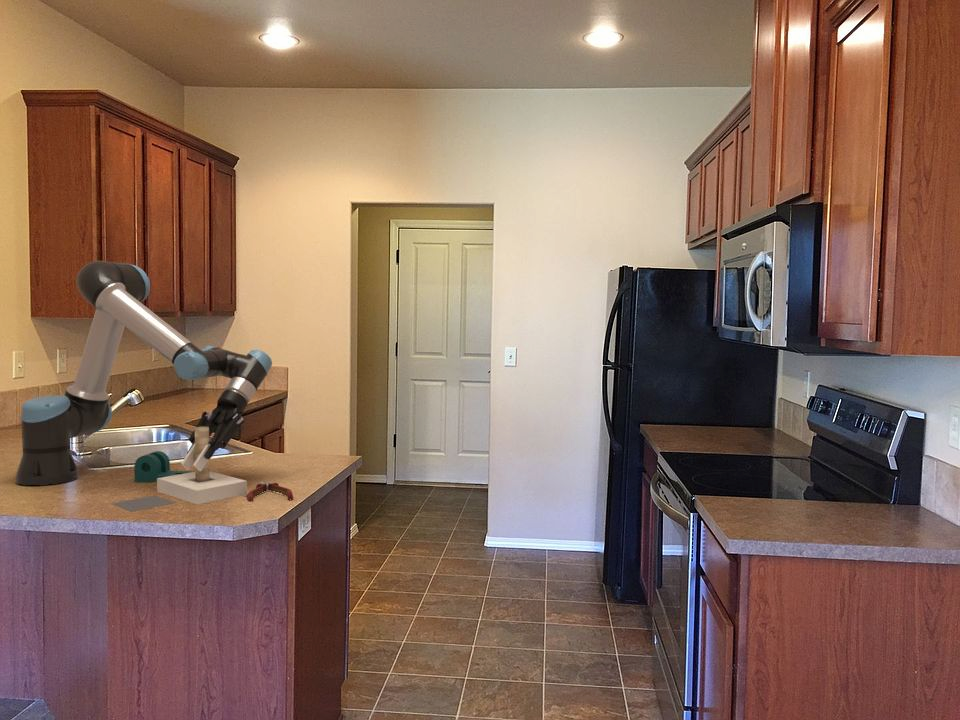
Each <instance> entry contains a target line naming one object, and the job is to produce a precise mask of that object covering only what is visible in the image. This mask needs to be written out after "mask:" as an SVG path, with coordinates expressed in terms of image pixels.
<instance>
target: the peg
mask: <svg viewBox="0 0 960 720" xmlns="http://www.w3.org/2000/svg"><path fill="white" fill-rule="evenodd" d="M194 430H195V461H196V460H197V458H198V457H199V455H200V454H201V452H202V451H203V449H204V447H205V446H206V445H209V446H210V444H209V443H208V442H210V437H209V427H196V426H195V427H194ZM195 461H194V462H195ZM194 468H195V481H197V482H204V481H209V480H210V471H211V470H210V469H211V468H210V459H209V460H208V461H207V463H206V464H205V466H204V468H203V469H202V471H198V470H197V469H196V467H195V466H194Z"/></svg>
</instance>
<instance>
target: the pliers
mask: <svg viewBox="0 0 960 720" xmlns="http://www.w3.org/2000/svg"><path fill="white" fill-rule="evenodd" d="M266 490H271V491H275V492H279V493H282V494H284V495H286V496H287V497H288V498H287V497H286V496H285V497H286V498H287V501H288V500H289V501H291V500H290V499H292V500H293V498H294V495H293V492H292V490H291V489H290V488H288V487H284V486H281V485H279V483H277V482H272V481H268V482H267V483H266V482H265V481H259V483H257V484H256V486H255V488H254V489H252V490H250V491H249V492H247V496H246V501H248V502H251V503H252V502H254V498H253V497H255V496H257V495H259V494H260V493H262V492H264V491H266ZM266 492H267V491H266ZM264 493H265V492H264ZM262 494H263V493H262ZM260 495H261V494H260ZM260 495H259V496H260ZM284 495H283V496H284ZM257 497H258V496H257ZM255 498H256V497H255Z"/></svg>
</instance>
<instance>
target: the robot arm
mask: <svg viewBox="0 0 960 720" xmlns="http://www.w3.org/2000/svg"><path fill="white" fill-rule="evenodd" d="M76 287H77V290H78V292H79V294H80V295H81V296H82V298H84V300H85V301H87V302H88V303H89V304H90V305H91V306H93V307H94V308H95V312H94V316H93V319H92V322H91V326H90V329H89V332H88V336H87V338H86V342H85V346H84V349H83V353H82V355H81V359H80V362H79V366H78V367H77V368H78V369H77V373H76V376H75V378H74V381H73V382H74V383H73V384H70V385H69V386H67V387H66V389H65V393H64V395H61V394H59V395H45V396H38V397H34V398H31V399H29V400H26V401H25V402H24V403H23V404H22V406H21V415H20V420H21V439H22V440H21V442H22V444H21V445H22V456H21V459H20V462H19V465H18V468H17V471H16V474H15V483H16V482H17V483H18V484H17V483H16V484H17V485H19V484H22V485H21V486H26V485H40V486H50V485H49V484H52V485H58V483H59V484H64V483H68V482H71V481H75V480H76V479H78V478H79V468H78V467H77V464H76V463H77V462H76V461H75V459H74V456H73V454H72V451H71V450H72V448H71V439H73V438H77V437H82V436H89V435H93V434H95V433H96V432H101V431H102V430H104V428H106V427H107V425H108V424H109V423H110V421H111V420H112V419H111V418H112V415H113V409H112V407H111V403H110V401H109V398H110V395H109V393H107V391H106V389H107V387H108V383H109V379H110V377H111V373H112V370H113V366H114V363H115V360H116V357H117V354H118V351H119V347H120V344H121V341H122V340H121V339H122V336H123V333H124V330H125V328H127V329H128V330H129V331H131V332H132V333H133V334H135V335H136V336H137V337H138V338H139V339H141V340H142V341H143V342H144V343H146V344H147V345H148V346H150V347H151V348H152V349H154V351H156V352H157V353H159V354H160V355H161V356H162V357H163V358H165V359H166V360H168V361H169V362H170V363H171V364H172V365H173V369H174V371H175V372H176V373H175V374H176V375H177V376H178V377H179V378H181V379H183V380H187V381H190V380H191V381H195V380H196V381H197V380H200V379H205V378H213V377H219V376H220V377H224V378H228V379H230V380H229V382H228V384H226V386H225V388H224V390H223V392H222V393H221V394H220V396H219V397H218V399H217V401H216V402H217V404H216V407H215V408H214V409H212V411H210V412H207V411H203V412H202V414H201V418H200V420H199V421H198V423H197V425H196V426H195V427H209V438H210V437H211V436H212V435H213V436H212V437H211V440H209V442H208V443H209V445H206V446H205V447H204V449H203V451H202V452H201V454H200V455H199V457H198V458H197V460H196V461H195V429H194V430H193V432H192V433H191V435H190V437H188V441H189V442H190V443H191V446H190V448H189V449H188V450H187V452H186V456H185V457H184V458H183V460H182V461H181V463H180V464H181V465H182V466H183V467H184V468H185V470H186V471H190V469H191V468H192V466H193V467H194V468H195V467H196V469H197V470H198V471H202V469H203V468H204V466H205V464H206V463H207V461H208V460H209V461H210V460H211V459H212V458H213V456H214V454H215V452H216V451H217V450H219V449H221V450H223V449H225V447H226V446H227V445H228V443H229V442H230V441H231V439H232V438H233V437H234V435H235V433H236V432H237V431H238V429H239V427H240V426H242V425H243V424H244V423H245V422H246V421H245V419H244V418H243V416H242V415H243V413H244V412H245V410H246V409H247V407H248V405H249V404H250V402H251V400H252V398H253V397H254V396H255V394H256V392H257V391H258V389H259V387H260V385H261V384H262V383H263V381H264V380H265V378H266V377H267V376H268V374H269V372H270V370H271V368H272V366H273V361H272V358H271V357H270V355H269V354H268V353H266V352H264V351H263V350H260V349H251V350H250V351H249V352H248V353H246V354H242V353H241V354H240V353H238V352H234V351H230V350H227V349H224V348H221V347H219V346H212V345H206V346H204V348H202V349H201V348H199V347H198V346H196V345H195V344H194V343H192V342H191V341H190V340H189V339H188V338H186V337H185V336H184V335H182V334H181V333H180V332H178V331H177V329H175V328H173V327H172V326H171V325H170V324H169V323H167V322H166V321H164V320H163V319H162V318H161V317H160V316H159V315H157V314H156V313H154V312H153V310H151V309H150V308H148V307H147V306H146V305H145V304H143V303H142V302H143V301H145V300H146V299H147V298H148V296H149V294H150V290H151V283H150V279H149V277H148V274H147V273H146V272H145V271H144V270H143V269H142V268H140V267H139V266H137V265H134V264H131V263H127V262H118V261H117V262H115V261H108V260H107V261H106V260H93V261H91V262H88V263H85V265H83V266H82V268H80V269H79V271H78V273H77V277H76ZM213 433H214V434H213Z"/></svg>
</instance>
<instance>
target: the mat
mask: <svg viewBox="0 0 960 720" xmlns="http://www.w3.org/2000/svg"><path fill="white" fill-rule="evenodd" d="M173 504H177V502H176V501H172V500H169V499H167V498H163V497H160V496H158V495H155V494H154V495H150V496H149V495H148V496H144V497H138V498H134V499H129V500H124V501H123V500H122V501H118V502H112V503H111V505H113V506H116V507H118V508H120V509H124V510H125V511H129V512H131V513H133V512H138V511H142V510H143V511H144V510H148V509H153V508H157V507H162V506H166V505H173Z"/></svg>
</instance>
